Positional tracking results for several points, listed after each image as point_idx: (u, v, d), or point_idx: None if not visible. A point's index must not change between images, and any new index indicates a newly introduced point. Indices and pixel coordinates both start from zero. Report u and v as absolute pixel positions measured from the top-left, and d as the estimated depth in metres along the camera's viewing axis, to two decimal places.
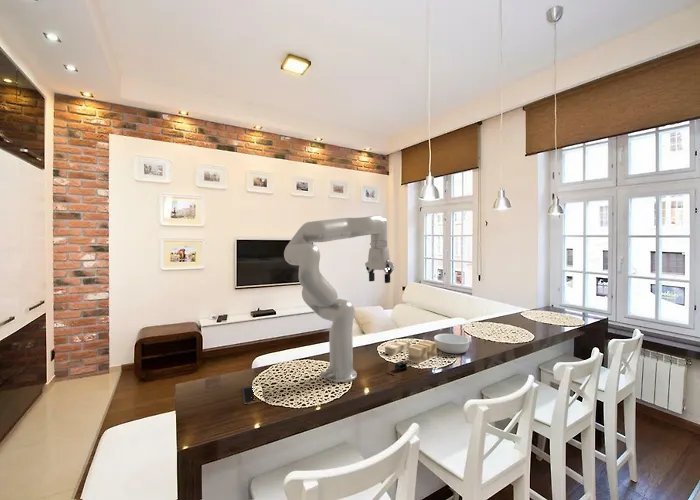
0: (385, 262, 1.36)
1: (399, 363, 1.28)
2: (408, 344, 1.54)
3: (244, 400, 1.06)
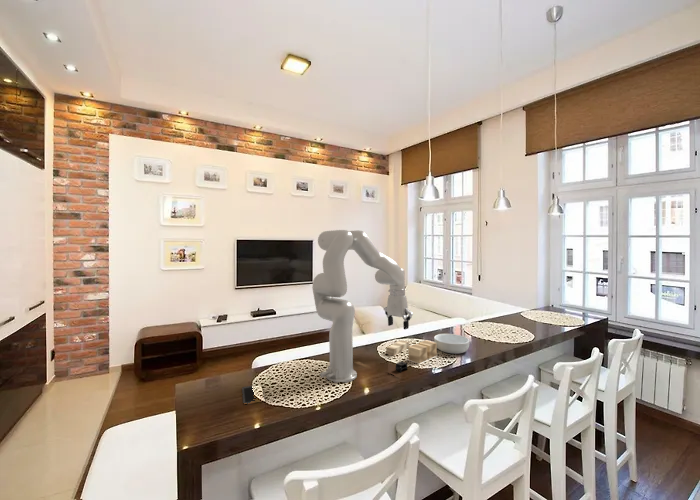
0: (404, 310, 1.47)
1: (400, 363, 1.27)
2: (407, 344, 1.55)
3: (244, 400, 1.06)
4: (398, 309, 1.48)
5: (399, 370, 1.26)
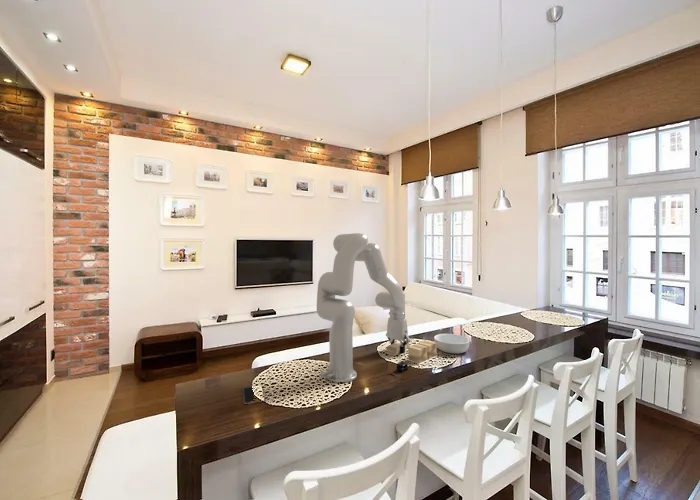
0: (404, 334, 1.47)
1: (401, 364, 1.27)
2: (407, 343, 1.55)
3: (244, 400, 1.06)
4: (398, 333, 1.48)
5: (401, 370, 1.26)
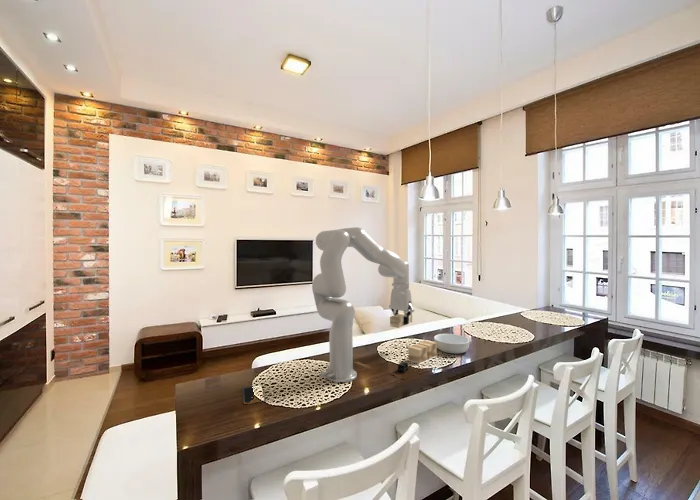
0: (408, 304, 1.45)
1: (402, 364, 1.27)
2: (411, 315, 1.53)
3: (244, 400, 1.06)
4: (402, 303, 1.46)
5: (402, 371, 1.25)
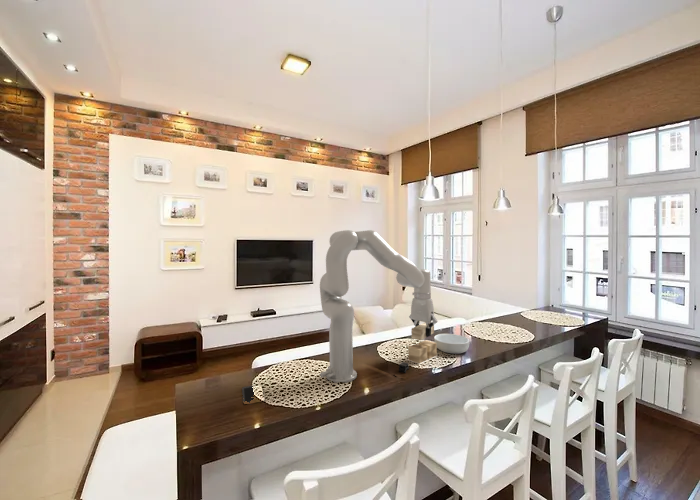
0: (430, 315, 1.37)
1: (403, 364, 1.27)
2: None
3: (244, 400, 1.06)
4: (424, 313, 1.38)
5: (403, 371, 1.25)
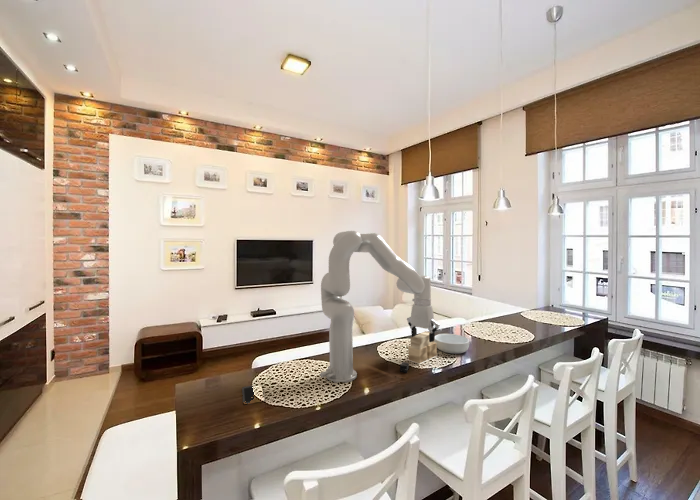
0: (430, 321, 1.37)
1: (404, 364, 1.27)
2: None
3: (244, 400, 1.06)
4: (424, 320, 1.38)
5: (405, 371, 1.25)
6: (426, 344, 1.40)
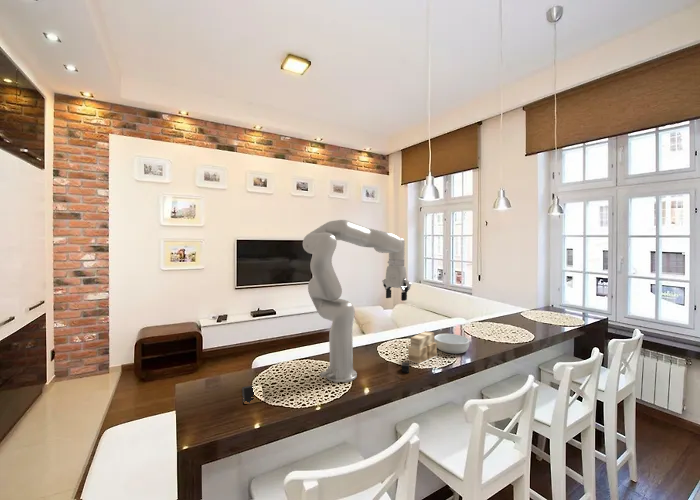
0: (402, 280, 1.41)
1: (405, 364, 1.26)
2: (433, 335, 1.45)
3: (244, 400, 1.06)
4: (396, 279, 1.42)
5: (407, 371, 1.25)
6: (426, 344, 1.40)
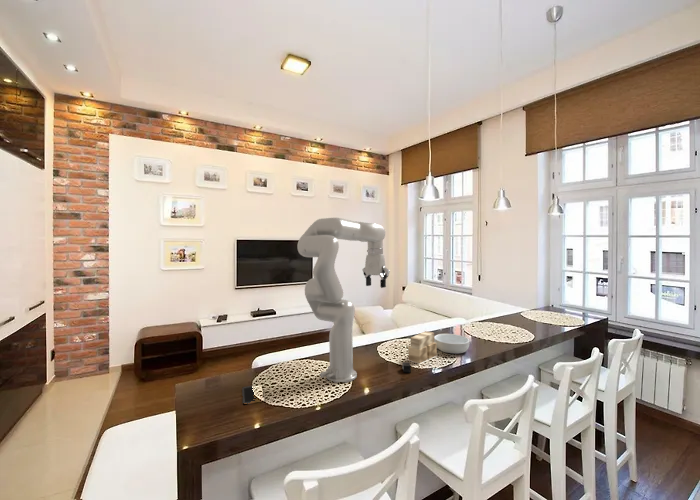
0: (381, 268, 1.46)
1: (406, 364, 1.26)
2: (433, 335, 1.45)
3: (244, 400, 1.06)
4: (375, 267, 1.47)
5: (409, 371, 1.25)
6: (426, 344, 1.40)
